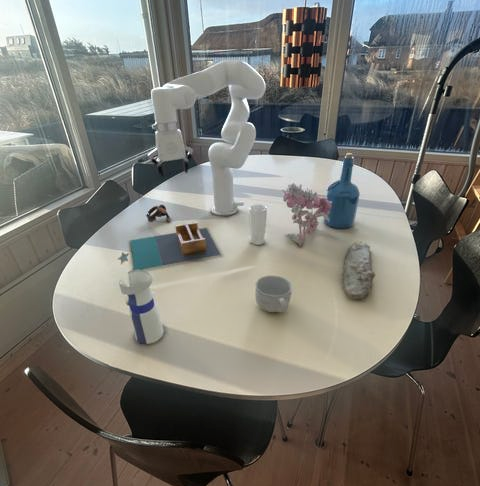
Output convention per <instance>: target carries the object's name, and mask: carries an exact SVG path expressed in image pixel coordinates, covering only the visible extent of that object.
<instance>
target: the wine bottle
mask: <svg viewBox="0 0 480 486" xmlns="http://www.w3.org/2000/svg"><path fill="white" fill-rule="evenodd" d="M354 162H355V157H354V154H353V153H351V152H346V154H345V156H344V158H343V161H342V163H341V166H342V167H341V173H340V178H339V179H338V180H336V181H334V182H333V183H331V184H330V185H329V186H328V187H327V188H326V191H327V192H326V197H328V198H327V199H326V200H325V201H327V200H328V201H332V204H331V206H332V207H331V209H329V208H328V209H329V211H330V213H329V215H328V216H327V217H328V218H329V222H328V220H326V219H325V218H324V217H323V222H324V224H326V225H327V226H328V227H330V228H331V227H332V228H334V229H347V228H351V226H353V225H354V224H355V220H356V216H357V211H358V204H359V200H360V195H361V194H360V190H359V187H358V186H357V185H356V184H354V183H352V175H353V167H354V165H355V164H354Z"/></svg>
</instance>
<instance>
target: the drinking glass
mask: <svg viewBox="0 0 480 486" xmlns="http://www.w3.org/2000/svg"><path fill="white" fill-rule="evenodd" d="M267 208H268V207H267V206H266V205H263V204H252V205H250V206H249V207H248V221H249V230H250V243H251V244H252V245H255V246H259V245H260V246H261V245H263V244H264V242H265V234H266V226H267V215H268V212H267V210H268V209H267Z"/></svg>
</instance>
